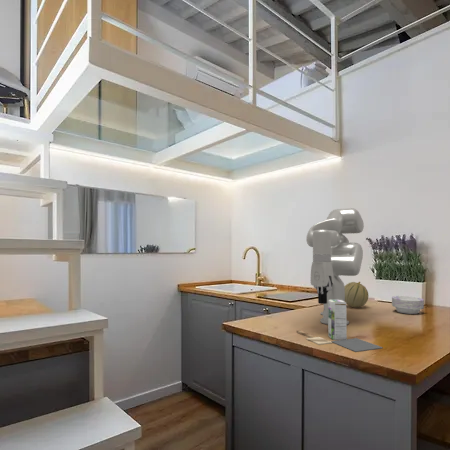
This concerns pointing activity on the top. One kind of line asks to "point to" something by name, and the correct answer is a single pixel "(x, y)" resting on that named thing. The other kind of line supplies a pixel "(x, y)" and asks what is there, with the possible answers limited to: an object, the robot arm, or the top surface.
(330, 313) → the syrup box
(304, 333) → the turner
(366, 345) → the mat
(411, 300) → the paper bowls
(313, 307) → the top surface
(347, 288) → the cantaloupe
